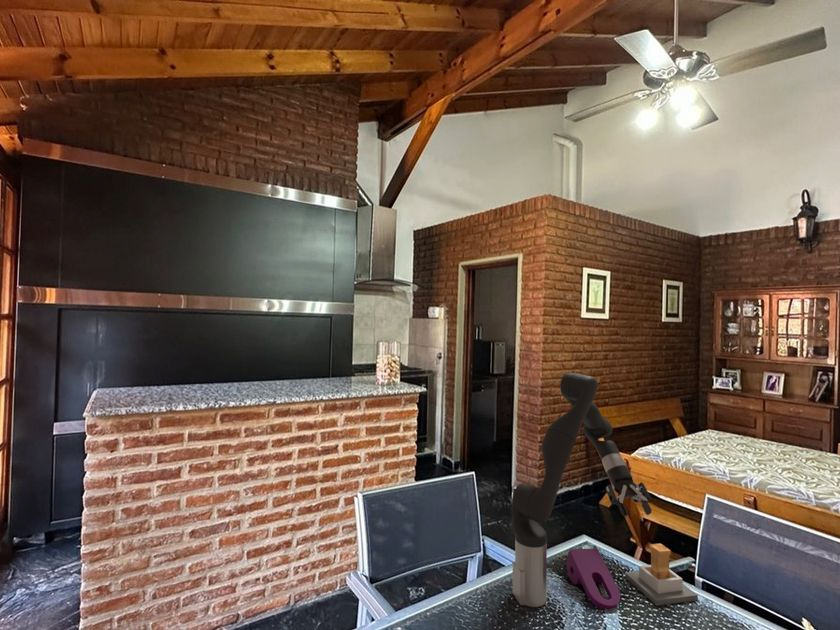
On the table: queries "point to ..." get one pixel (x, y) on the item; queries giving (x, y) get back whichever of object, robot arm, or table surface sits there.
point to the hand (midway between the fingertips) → (637, 514)
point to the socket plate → (661, 587)
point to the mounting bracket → (592, 576)
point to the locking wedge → (660, 561)
